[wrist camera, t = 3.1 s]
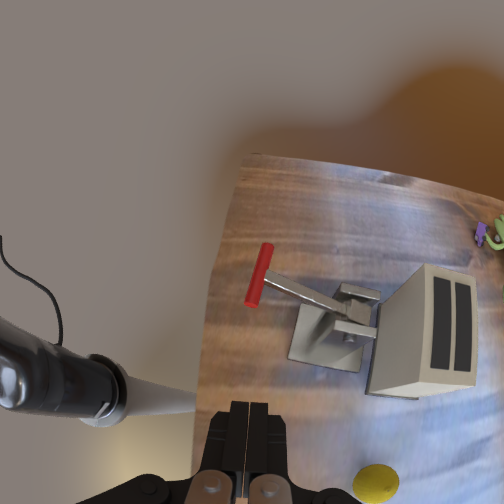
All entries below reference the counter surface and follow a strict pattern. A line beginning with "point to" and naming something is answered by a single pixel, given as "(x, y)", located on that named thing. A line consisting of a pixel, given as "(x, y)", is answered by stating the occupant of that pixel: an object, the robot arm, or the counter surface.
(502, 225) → the figurine
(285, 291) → the switch lever
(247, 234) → the counter surface
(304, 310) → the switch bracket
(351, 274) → the counter surface
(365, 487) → the lemon
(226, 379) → the counter surface
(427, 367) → the toaster
